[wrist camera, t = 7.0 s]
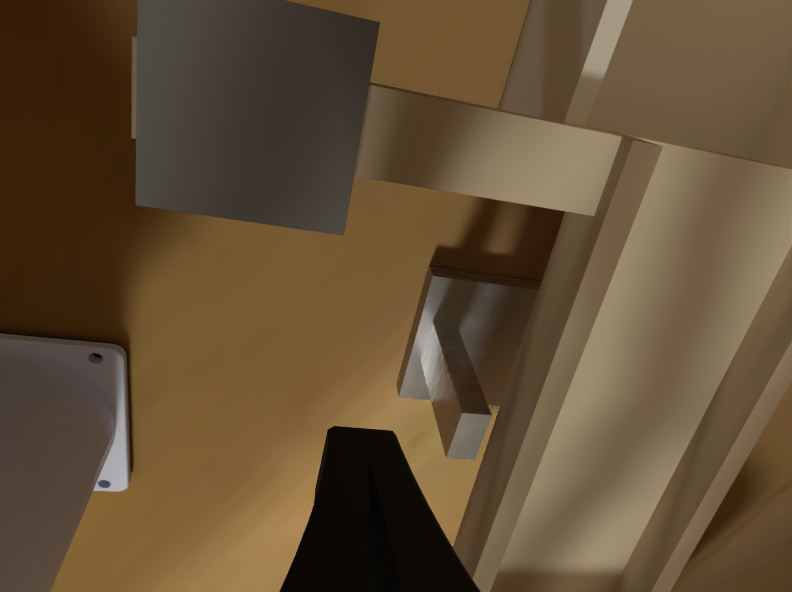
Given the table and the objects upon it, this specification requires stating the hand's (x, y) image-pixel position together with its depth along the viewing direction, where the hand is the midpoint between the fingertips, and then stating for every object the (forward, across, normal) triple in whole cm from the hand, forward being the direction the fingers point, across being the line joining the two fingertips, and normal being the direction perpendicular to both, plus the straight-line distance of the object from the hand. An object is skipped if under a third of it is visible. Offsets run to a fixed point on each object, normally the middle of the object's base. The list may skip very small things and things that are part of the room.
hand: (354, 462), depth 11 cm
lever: (+5, -4, +3) cm, 7 cm away
